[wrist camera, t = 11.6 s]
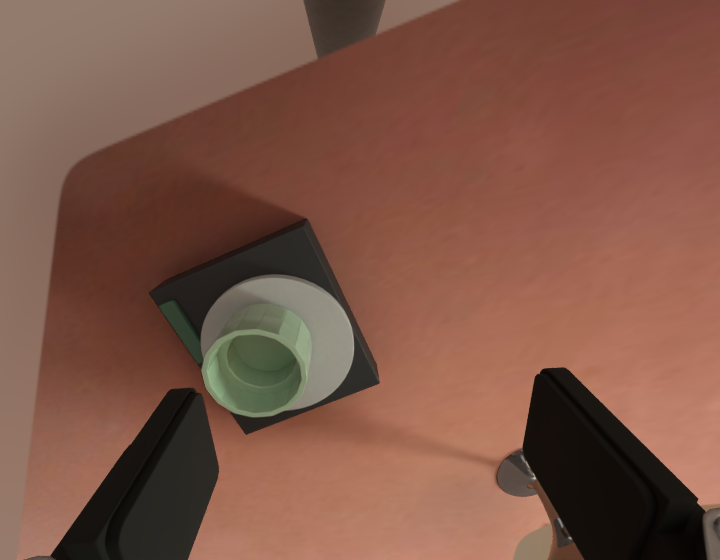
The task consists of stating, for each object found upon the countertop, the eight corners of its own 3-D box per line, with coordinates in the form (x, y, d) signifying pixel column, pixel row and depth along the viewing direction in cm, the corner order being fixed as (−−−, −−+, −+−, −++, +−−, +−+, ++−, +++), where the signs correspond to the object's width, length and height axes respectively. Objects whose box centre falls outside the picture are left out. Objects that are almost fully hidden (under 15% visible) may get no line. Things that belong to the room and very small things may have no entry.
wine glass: (555, 433, 37) (685, 604, 23) (571, 483, 40) (697, 664, 26) (484, 460, 38) (568, 641, 24) (504, 507, 41) (591, 696, 27)
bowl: (216, 304, 27) (191, 333, 22) (306, 297, 27) (300, 325, 22) (232, 381, 29) (213, 421, 25) (316, 374, 29) (311, 412, 25)
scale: (166, 279, 30) (142, 296, 26) (307, 218, 28) (302, 227, 25) (253, 412, 35) (243, 442, 31) (376, 364, 33) (381, 389, 30)
